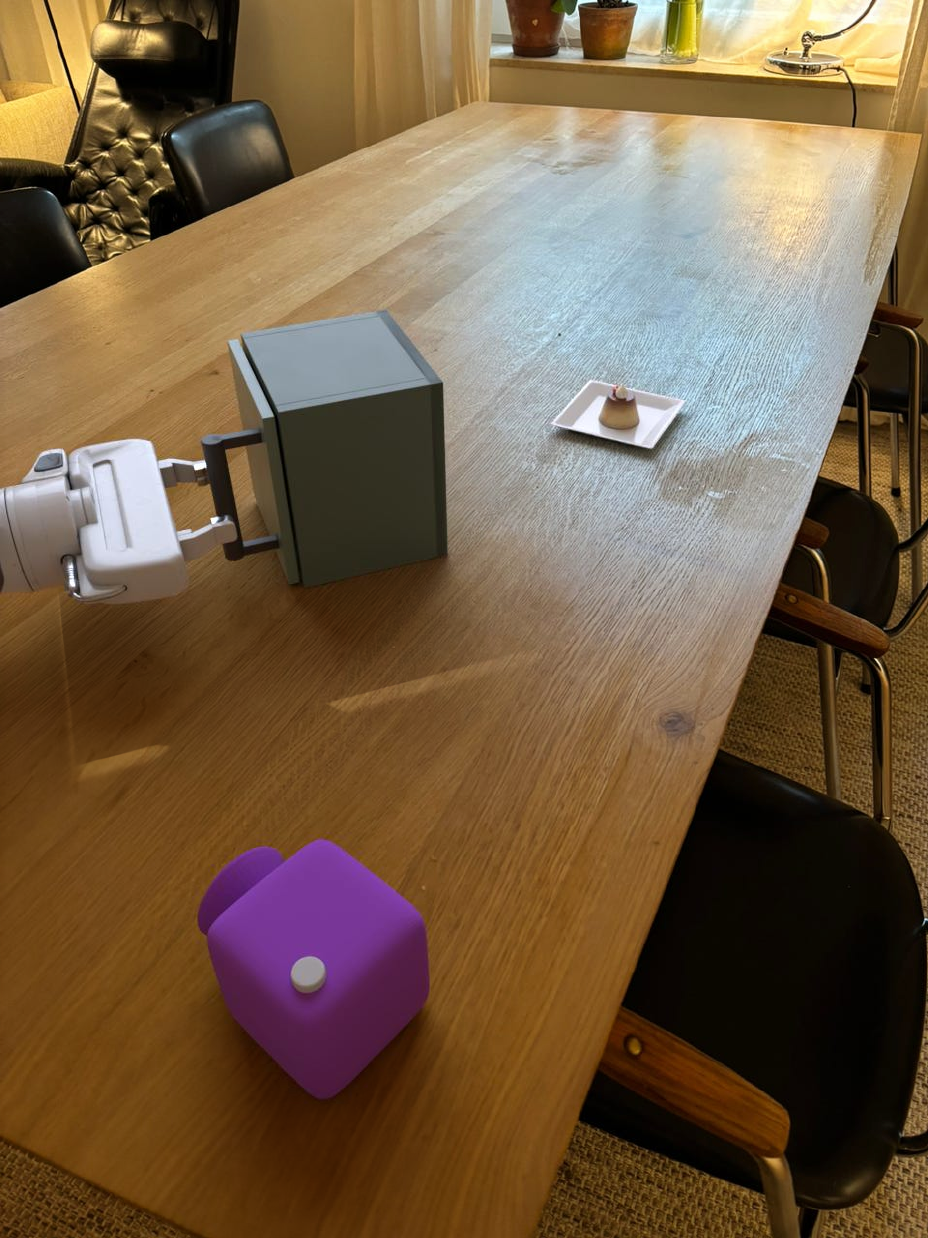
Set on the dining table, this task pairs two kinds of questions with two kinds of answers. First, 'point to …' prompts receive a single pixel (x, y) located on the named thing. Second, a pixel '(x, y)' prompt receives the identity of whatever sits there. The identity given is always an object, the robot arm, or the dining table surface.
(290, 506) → the housing
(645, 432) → the dessert
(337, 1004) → the toy camera
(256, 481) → the door
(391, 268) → the dining table surface
